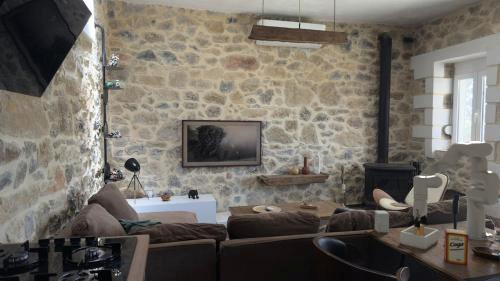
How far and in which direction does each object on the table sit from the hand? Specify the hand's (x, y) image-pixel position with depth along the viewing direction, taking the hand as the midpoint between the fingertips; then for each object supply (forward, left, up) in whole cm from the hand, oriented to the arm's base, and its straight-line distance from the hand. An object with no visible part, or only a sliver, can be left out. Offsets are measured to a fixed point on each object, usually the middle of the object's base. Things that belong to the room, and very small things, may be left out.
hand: (420, 225), depth 204 cm
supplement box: (+26, -4, -11) cm, 29 cm away
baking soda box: (-24, +17, -11) cm, 31 cm away
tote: (0, +1, -10) cm, 10 cm away
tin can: (0, 0, -9) cm, 9 cm away
